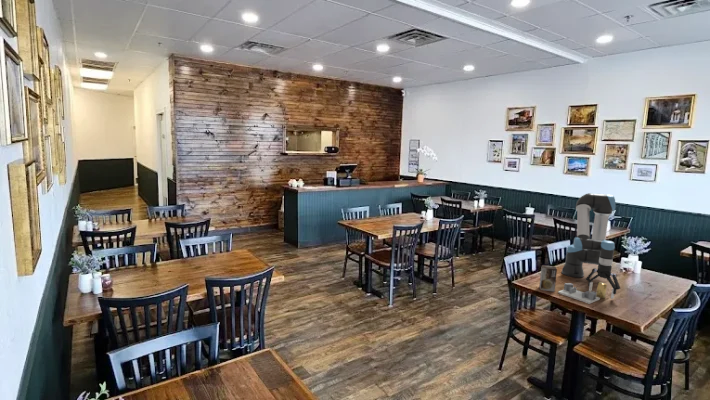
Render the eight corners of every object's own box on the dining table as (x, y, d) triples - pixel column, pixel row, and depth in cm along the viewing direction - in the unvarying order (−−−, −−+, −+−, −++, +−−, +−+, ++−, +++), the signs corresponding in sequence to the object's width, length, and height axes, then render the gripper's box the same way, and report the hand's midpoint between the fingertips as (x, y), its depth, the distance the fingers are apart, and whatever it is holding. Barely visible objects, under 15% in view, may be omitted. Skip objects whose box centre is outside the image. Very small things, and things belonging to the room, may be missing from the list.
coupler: (594, 296, 260) (596, 283, 259) (598, 294, 263) (600, 281, 262) (603, 298, 256) (604, 285, 254) (606, 297, 259) (608, 284, 257)
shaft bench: (557, 293, 263) (558, 285, 262) (568, 289, 271) (569, 281, 270) (589, 303, 247) (590, 295, 246) (599, 299, 254) (600, 291, 254)
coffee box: (553, 288, 271) (555, 266, 268) (554, 291, 265) (557, 269, 262) (539, 286, 274) (541, 264, 271) (540, 289, 268) (542, 267, 265)
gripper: (582, 259, 264) (578, 289, 267) (624, 270, 244) (619, 302, 247) (588, 258, 268) (584, 287, 271) (629, 268, 248) (624, 300, 251)
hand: (600, 294), depth 259 cm, fingers open, 13 cm apart
